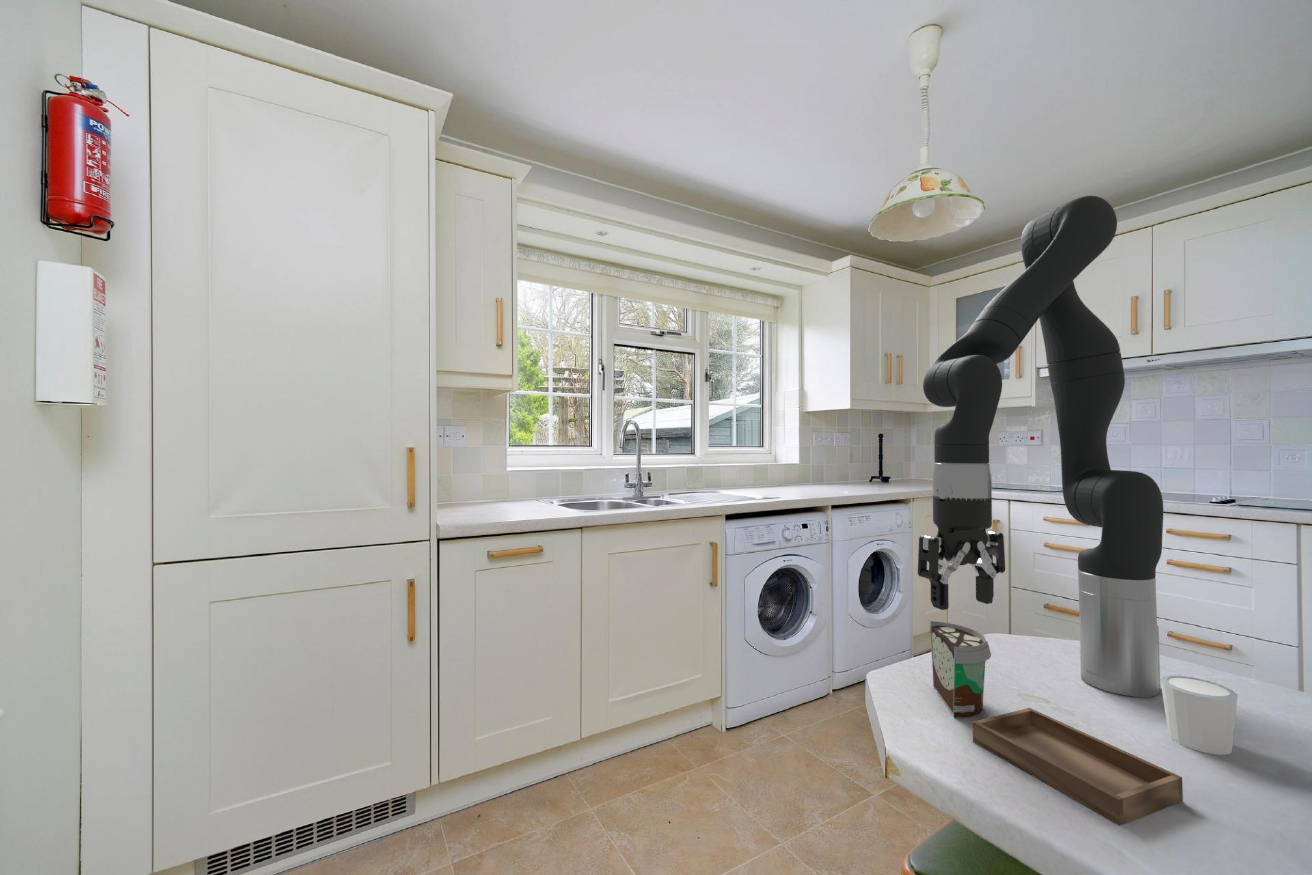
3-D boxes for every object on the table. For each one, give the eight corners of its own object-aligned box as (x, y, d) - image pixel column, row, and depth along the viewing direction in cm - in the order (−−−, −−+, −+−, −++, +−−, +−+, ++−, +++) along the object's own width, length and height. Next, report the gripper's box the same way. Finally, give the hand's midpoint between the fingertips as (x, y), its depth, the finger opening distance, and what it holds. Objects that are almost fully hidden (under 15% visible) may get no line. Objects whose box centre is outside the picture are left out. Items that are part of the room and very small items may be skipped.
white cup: (1226, 763, 63) (1224, 703, 63) (1151, 736, 69) (1150, 681, 69) (1249, 748, 66) (1247, 690, 66) (1175, 722, 72) (1174, 670, 73)
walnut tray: (1029, 726, 72) (1029, 707, 72) (1182, 801, 57) (1182, 777, 57) (972, 741, 68) (972, 721, 68) (1119, 825, 53) (1118, 799, 53)
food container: (1008, 726, 72) (1006, 651, 72) (957, 722, 73) (955, 648, 73) (973, 686, 84) (971, 621, 84) (930, 683, 85) (929, 619, 85)
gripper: (974, 490, 85) (975, 594, 85) (903, 493, 80) (904, 603, 80) (1021, 494, 78) (1022, 607, 78) (946, 497, 73) (947, 618, 73)
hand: (962, 605), depth 79 cm, fingers open, 8 cm apart
